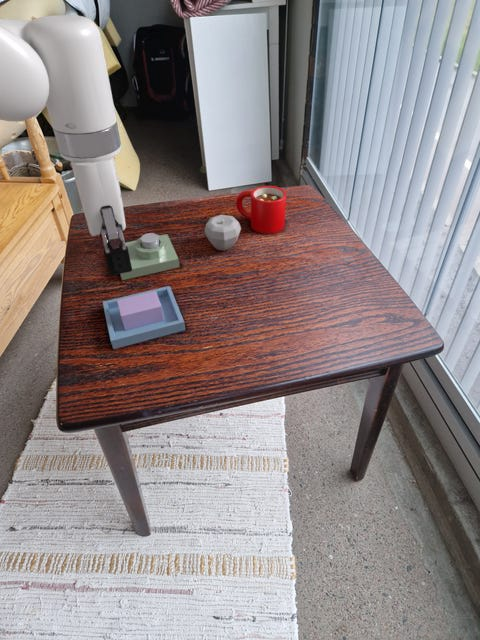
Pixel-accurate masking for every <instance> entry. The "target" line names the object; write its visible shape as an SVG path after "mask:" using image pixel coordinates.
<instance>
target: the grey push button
mask: <svg viewBox="0 0 480 640" xmlns="http://www.w3.org/2000/svg"><path fill="white" fill-rule="evenodd" d="M158 235H159V234H156V233H155V232H149V233H144V234H142V235H141V237H140V238H141V244H142V247H143V248H144V249H153V248H156V247H158V246H159V238H158Z"/></svg>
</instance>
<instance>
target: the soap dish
mask: <svg viewBox="0 0 480 640" xmlns="http://www.w3.org/2000/svg"><path fill="white" fill-rule="evenodd" d="M153 291H156V293H157V296H158V298H159V301H160V304H161V307H162V312H163V317H164V321H160V322H156V323H152V324H148V325H145V326H141V327H137V328H133V329H129V330H125V329H124V326H123V322H122V319H121V315H120V311H119V307H118V303H117V300H120V299H124V298H128V297H132V296H136V295H140V294H145V293H149V292H153ZM102 305H103V311H104V315H105V321H106V327H107V331H108V335H109V339H110V340H109V341H110V344H111V347H112V349H113V350H116V349H119V348H124V347H129V346H131V345H134V344H139V343H142V342H146V341H150V340H154V339H158V338H162V337H165V336H169V335H172V334H177V333H180V332H184V331H186V326H185V321H184V318H183V316H182V313H181V310H180V307H179V305H178V303H177V300H176V298H175V296H174V293H173V290H172V288H171V286H170V285H167V286H163V287H159V288H154V289H150V290H146V291H142V292H138V293H133V294H129V295H125V296H120V297H117V298H112V299H107V300H104V301H102Z"/></svg>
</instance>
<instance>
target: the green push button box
mask: <svg viewBox="0 0 480 640" xmlns="http://www.w3.org/2000/svg"><path fill="white" fill-rule="evenodd" d="M157 235H158V238H159V246H158V247H156V248H153V249H144V248H143V247H142V244H141V237H139V238H136V239H135V240H132V241H127V242H125V245H126V246H127V247H128V252H129V257H130V261H131V266H132V271H130V272H126V273H121V274H119V276H120V279H121V281H126V280H131V279H134V278H139V277H144V276H148V275H152V274H156V273H160V272H165V271H169V270H174V269H178V268H181V267H180V259H179V257H178V254H177V252H176V250H175V248H174V246H173V243H172V241H171V239H170V236H169V235H168V234H167V233H166V234H165V233H164V234H157Z"/></svg>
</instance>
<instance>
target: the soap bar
mask: <svg viewBox="0 0 480 640" xmlns="http://www.w3.org/2000/svg"><path fill="white" fill-rule="evenodd" d="M117 303H118V307H119V311H120V315H121V319H122V322H123V326H124V329H125V330H129V329H133V328H137V327H141V326H145V325H148V324H152V323H156V322H160V321H164V317H163V312H162V307H161V304H160V301H159V298H158V296H157V293H156V291H153V292H149V293H145V294H140V295H136V296H132V297H128V298H124V299H120V300H117Z"/></svg>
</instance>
